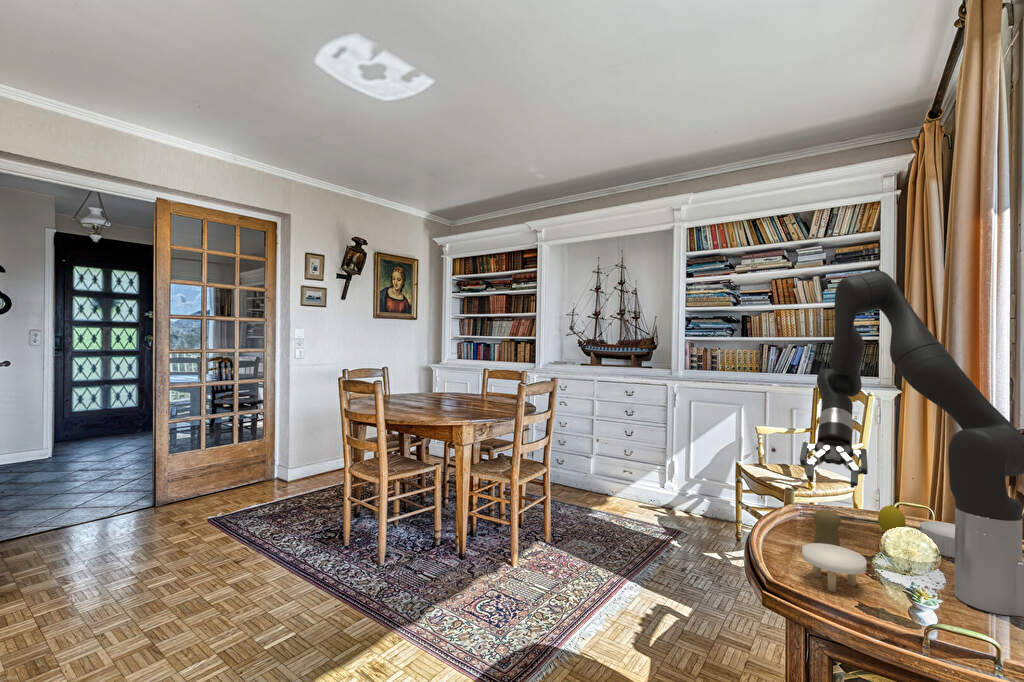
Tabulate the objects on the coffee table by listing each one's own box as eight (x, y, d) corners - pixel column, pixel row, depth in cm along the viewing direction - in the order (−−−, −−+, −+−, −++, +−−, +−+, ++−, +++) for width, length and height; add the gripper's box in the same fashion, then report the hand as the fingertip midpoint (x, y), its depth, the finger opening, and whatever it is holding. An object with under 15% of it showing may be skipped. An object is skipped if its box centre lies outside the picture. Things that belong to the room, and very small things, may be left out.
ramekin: (986, 566, 110) (986, 543, 110) (920, 553, 116) (921, 531, 116) (978, 550, 119) (979, 528, 119) (918, 538, 125) (918, 517, 125)
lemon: (903, 534, 127) (904, 503, 127) (906, 542, 123) (907, 510, 123) (877, 530, 130) (877, 499, 130) (879, 537, 126) (879, 505, 126)
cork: (847, 567, 108) (848, 517, 108) (817, 565, 110) (817, 515, 110) (835, 556, 114) (836, 508, 114) (806, 553, 116) (807, 506, 116)
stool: (866, 581, 102) (867, 552, 102) (865, 603, 94) (865, 571, 94) (805, 566, 109) (805, 539, 109) (798, 585, 100) (798, 556, 100)
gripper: (802, 417, 132) (796, 469, 123) (868, 423, 124) (866, 479, 115) (805, 434, 137) (799, 485, 127) (868, 441, 128) (867, 496, 119)
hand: (831, 482), depth 121 cm, fingers open, 8 cm apart
